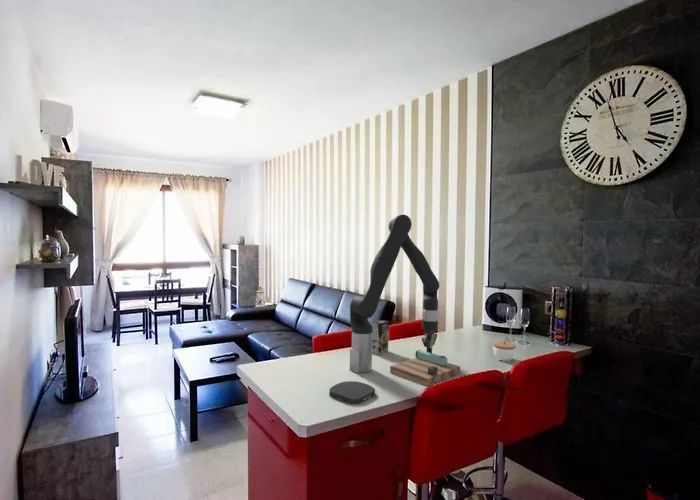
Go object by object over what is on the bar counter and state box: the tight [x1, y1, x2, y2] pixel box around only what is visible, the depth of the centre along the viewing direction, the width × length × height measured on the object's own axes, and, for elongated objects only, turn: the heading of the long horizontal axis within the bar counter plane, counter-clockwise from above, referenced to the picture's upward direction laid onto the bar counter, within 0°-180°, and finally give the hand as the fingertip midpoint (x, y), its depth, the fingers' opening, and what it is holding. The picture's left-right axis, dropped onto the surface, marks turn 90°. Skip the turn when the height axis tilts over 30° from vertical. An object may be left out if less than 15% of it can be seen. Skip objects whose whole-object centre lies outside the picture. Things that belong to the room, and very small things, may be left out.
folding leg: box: [415, 349, 448, 366], centre depth 179 cm, size 16×3×4 cm, turn 42°
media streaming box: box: [328, 380, 376, 405], centre depth 146 cm, size 15×15×3 cm
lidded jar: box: [492, 340, 517, 362], centre depth 193 cm, size 11×11×9 cm
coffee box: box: [369, 319, 390, 356], centre depth 202 cm, size 9×6×16 cm
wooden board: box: [389, 357, 461, 387], centre depth 171 cm, size 24×20×6 cm
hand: (429, 355), depth 184 cm, fingers closed
